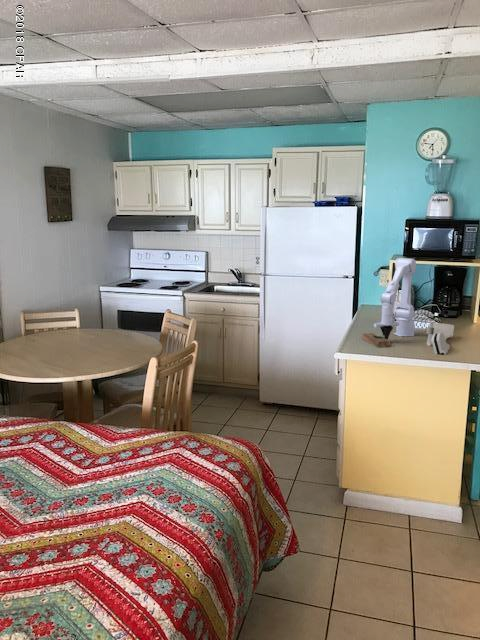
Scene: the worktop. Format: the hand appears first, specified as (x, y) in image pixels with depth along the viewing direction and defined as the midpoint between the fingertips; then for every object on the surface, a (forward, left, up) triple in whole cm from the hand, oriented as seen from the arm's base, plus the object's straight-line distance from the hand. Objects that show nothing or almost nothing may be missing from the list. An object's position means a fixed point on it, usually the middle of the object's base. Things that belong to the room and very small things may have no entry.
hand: (385, 339), depth 287 cm
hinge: (-18, +22, -2) cm, 29 cm away
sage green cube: (+3, -1, -1) cm, 4 cm away
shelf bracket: (-29, +6, -2) cm, 30 cm away
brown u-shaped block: (+6, 0, -1) cm, 6 cm away
